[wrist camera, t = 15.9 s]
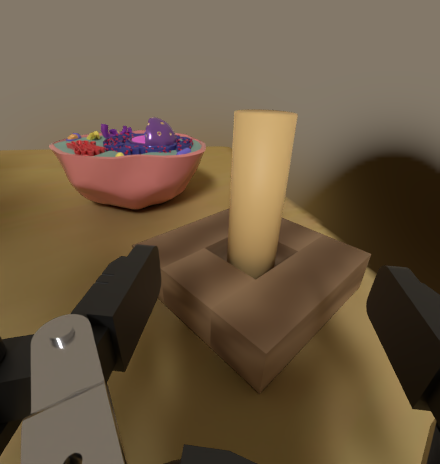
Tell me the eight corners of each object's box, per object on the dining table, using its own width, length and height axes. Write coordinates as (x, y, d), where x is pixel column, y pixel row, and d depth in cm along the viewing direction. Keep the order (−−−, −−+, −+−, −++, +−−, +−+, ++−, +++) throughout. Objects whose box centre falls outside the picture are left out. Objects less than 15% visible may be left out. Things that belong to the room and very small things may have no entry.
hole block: (137, 278, 25) (132, 245, 23) (242, 229, 33) (244, 202, 32) (259, 393, 16) (266, 353, 14) (359, 286, 25) (371, 254, 23)
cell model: (99, 178, 48) (85, 107, 43) (213, 185, 47) (214, 112, 41) (32, 221, 34) (-2, 122, 28) (195, 234, 32) (193, 131, 27)
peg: (216, 282, 25) (221, 111, 18) (246, 264, 27) (260, 108, 20) (250, 306, 22) (271, 118, 15) (280, 284, 24) (309, 114, 18)
